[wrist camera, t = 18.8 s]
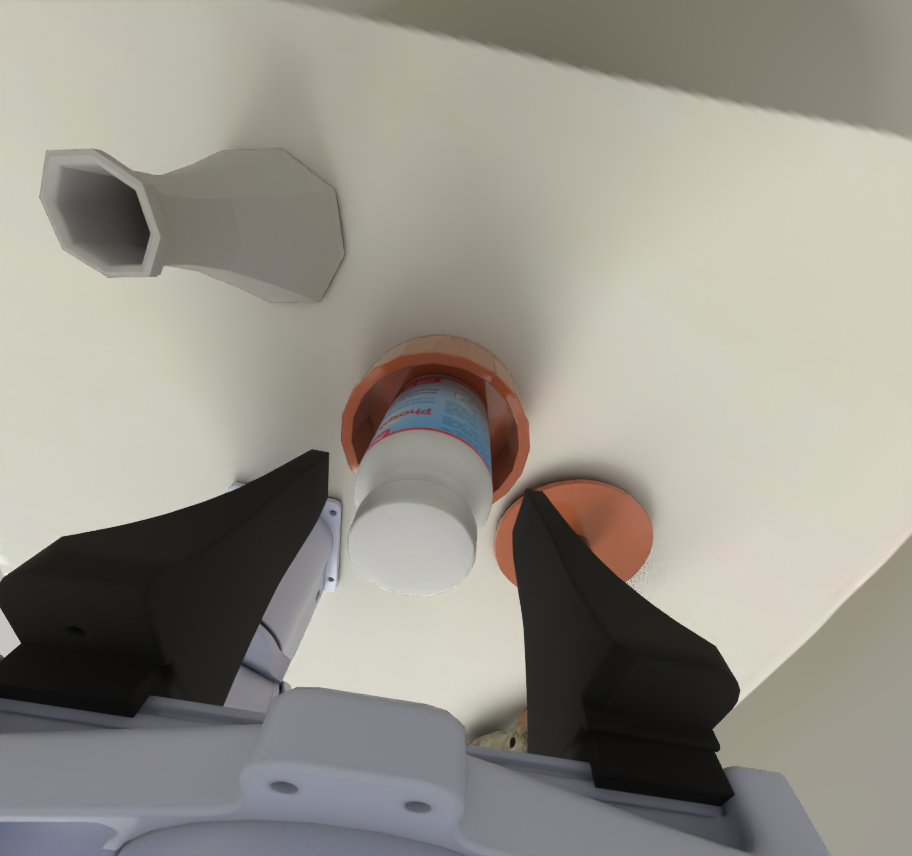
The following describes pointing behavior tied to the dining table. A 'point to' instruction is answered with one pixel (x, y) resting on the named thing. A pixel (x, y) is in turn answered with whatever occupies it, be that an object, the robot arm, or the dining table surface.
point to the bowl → (452, 361)
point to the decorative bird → (507, 737)
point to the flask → (199, 219)
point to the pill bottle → (423, 489)
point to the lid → (589, 525)
